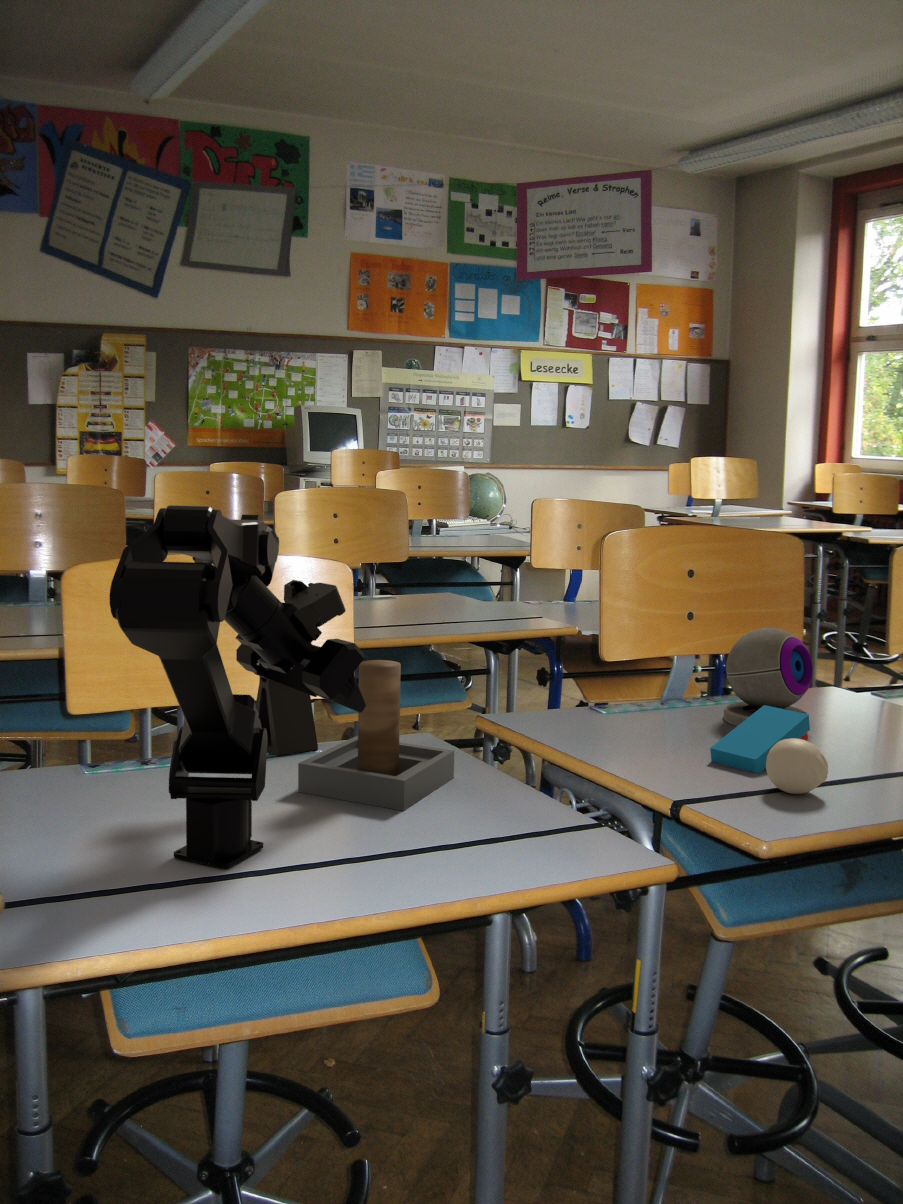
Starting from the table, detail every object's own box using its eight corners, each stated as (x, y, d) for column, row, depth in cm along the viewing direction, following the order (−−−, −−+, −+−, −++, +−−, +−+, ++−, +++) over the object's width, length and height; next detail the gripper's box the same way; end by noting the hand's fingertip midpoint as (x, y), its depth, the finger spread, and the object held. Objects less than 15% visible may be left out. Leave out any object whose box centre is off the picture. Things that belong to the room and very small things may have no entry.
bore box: (403, 810, 115) (404, 780, 115) (298, 791, 121) (298, 763, 120) (453, 777, 128) (454, 750, 127) (356, 762, 133) (356, 736, 133)
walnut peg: (386, 793, 121) (388, 669, 119) (349, 787, 123) (351, 665, 121) (405, 782, 125) (407, 662, 123) (369, 776, 127) (371, 658, 125)
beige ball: (819, 805, 121) (823, 751, 120) (757, 793, 125) (761, 740, 124) (832, 791, 127) (836, 739, 126) (773, 780, 130) (776, 729, 130)
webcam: (780, 736, 152) (787, 637, 150) (706, 719, 162) (712, 626, 160) (822, 723, 161) (829, 630, 159) (750, 707, 171) (756, 619, 169)
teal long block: (759, 806, 135) (824, 747, 146) (755, 759, 133) (821, 703, 144) (714, 793, 140) (780, 737, 151) (709, 748, 138) (777, 694, 149)
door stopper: (318, 750, 138) (319, 664, 137) (277, 757, 135) (278, 668, 133) (288, 735, 145) (289, 653, 144) (249, 741, 142) (249, 656, 140)
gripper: (350, 568, 106) (429, 661, 115) (259, 553, 120) (335, 637, 129) (285, 650, 102) (372, 740, 111) (198, 624, 116) (281, 706, 125)
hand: (339, 701), depth 119 cm, fingers open, 9 cm apart
